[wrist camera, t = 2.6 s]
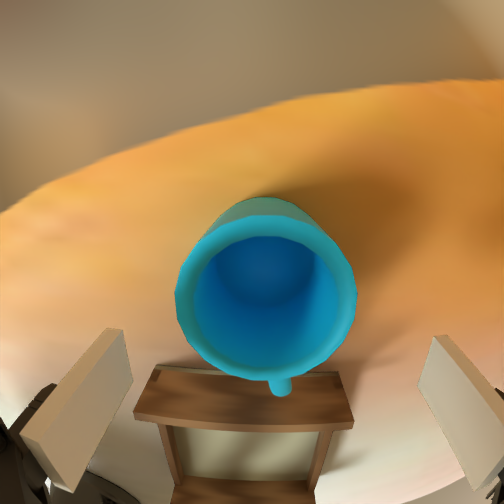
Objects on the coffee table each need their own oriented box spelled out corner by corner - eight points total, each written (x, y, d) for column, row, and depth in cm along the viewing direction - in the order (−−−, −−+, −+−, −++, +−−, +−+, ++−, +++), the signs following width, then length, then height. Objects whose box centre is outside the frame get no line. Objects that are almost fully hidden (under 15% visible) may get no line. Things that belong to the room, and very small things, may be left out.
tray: (179, 473, 28) (169, 513, 23) (156, 364, 24) (132, 411, 18) (311, 479, 28) (315, 519, 22) (338, 371, 24) (354, 421, 18)
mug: (194, 207, 21) (155, 231, 13) (316, 188, 20) (350, 201, 12) (228, 359, 24) (215, 434, 16) (331, 345, 23) (356, 417, 15)
